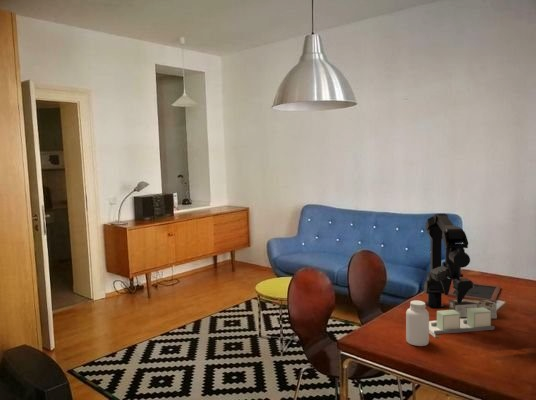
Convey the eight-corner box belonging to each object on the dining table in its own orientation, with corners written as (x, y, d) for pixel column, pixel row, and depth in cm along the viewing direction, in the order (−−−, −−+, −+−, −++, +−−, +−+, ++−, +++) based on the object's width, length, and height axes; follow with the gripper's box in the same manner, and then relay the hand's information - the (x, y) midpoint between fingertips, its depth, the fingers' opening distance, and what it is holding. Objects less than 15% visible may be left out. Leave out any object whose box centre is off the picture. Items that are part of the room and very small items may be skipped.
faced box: (466, 324, 166) (467, 308, 165) (483, 323, 167) (483, 307, 166) (473, 329, 161) (474, 312, 161) (490, 327, 162) (491, 311, 161)
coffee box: (496, 302, 171) (454, 301, 173) (497, 319, 170) (455, 317, 172) (488, 299, 179) (448, 298, 182) (488, 315, 179) (449, 314, 181)
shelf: (419, 325, 170) (419, 318, 170) (475, 321, 173) (475, 314, 172) (435, 337, 158) (435, 330, 158) (494, 332, 161) (494, 326, 160)
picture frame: (457, 283, 224) (447, 297, 203) (457, 280, 223) (447, 293, 203) (500, 289, 212) (494, 304, 192) (500, 285, 212) (494, 300, 192)
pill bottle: (428, 338, 158) (428, 299, 156) (429, 348, 150) (429, 307, 148) (406, 336, 160) (406, 298, 159) (405, 345, 153) (406, 305, 151)
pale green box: (436, 326, 164) (436, 310, 164) (453, 325, 165) (453, 309, 164) (442, 331, 160) (442, 315, 159) (460, 330, 160) (460, 313, 160)
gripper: (422, 255, 171) (421, 292, 173) (445, 268, 153) (445, 309, 155) (448, 253, 172) (447, 290, 174) (474, 266, 154) (473, 307, 156)
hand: (452, 299), depth 165 cm, fingers open, 9 cm apart
